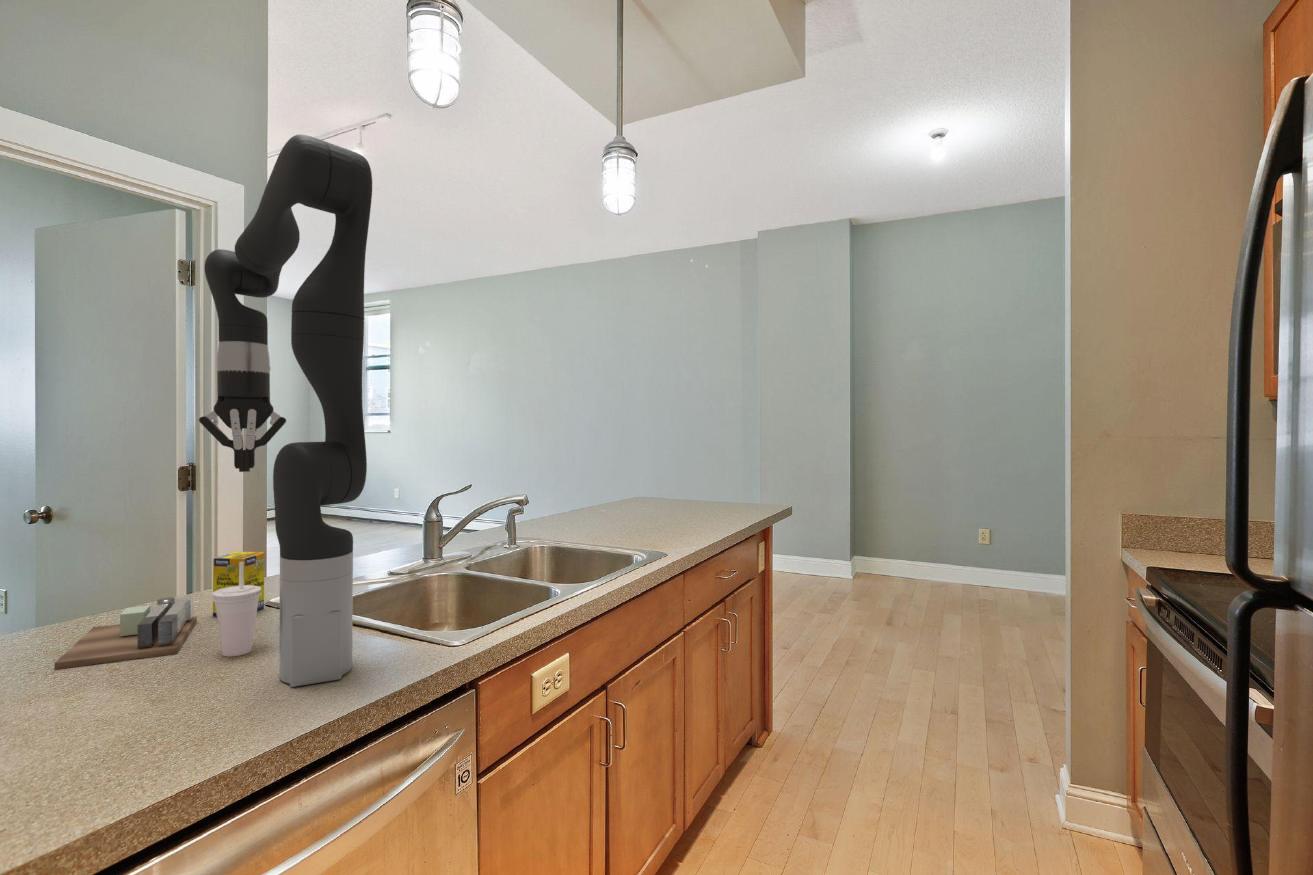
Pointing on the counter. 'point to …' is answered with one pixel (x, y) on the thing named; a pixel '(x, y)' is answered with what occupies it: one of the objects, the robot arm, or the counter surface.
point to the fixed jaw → (174, 618)
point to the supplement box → (229, 572)
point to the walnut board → (116, 647)
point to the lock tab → (132, 619)
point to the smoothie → (236, 615)
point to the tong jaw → (151, 626)
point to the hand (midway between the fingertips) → (244, 471)
